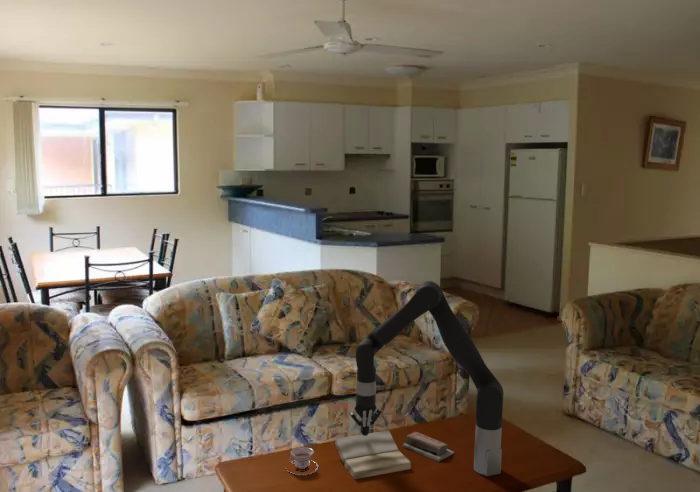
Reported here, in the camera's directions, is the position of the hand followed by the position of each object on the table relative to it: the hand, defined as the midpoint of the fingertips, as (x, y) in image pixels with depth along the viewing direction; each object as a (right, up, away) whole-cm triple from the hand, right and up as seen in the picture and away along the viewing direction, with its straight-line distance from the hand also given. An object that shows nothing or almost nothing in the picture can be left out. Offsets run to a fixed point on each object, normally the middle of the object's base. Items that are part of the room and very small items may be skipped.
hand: (364, 434), depth 256 cm
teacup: (-23, -9, -11) cm, 27 cm away
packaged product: (+24, -8, +5) cm, 26 cm away
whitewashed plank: (0, -5, 0) cm, 5 cm away
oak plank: (+4, -9, -10) cm, 14 cm away
